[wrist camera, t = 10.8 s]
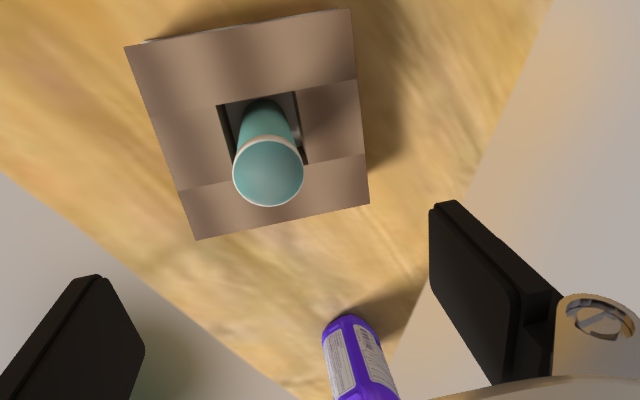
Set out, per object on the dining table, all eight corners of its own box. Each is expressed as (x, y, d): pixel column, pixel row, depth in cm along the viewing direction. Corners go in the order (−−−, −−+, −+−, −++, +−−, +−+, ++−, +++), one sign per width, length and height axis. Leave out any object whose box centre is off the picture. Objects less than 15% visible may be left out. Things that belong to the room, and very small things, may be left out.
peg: (282, 94, 28) (297, 133, 18) (291, 138, 30) (309, 198, 19) (236, 102, 28) (223, 147, 17) (247, 147, 30) (242, 213, 19)
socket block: (336, 7, 27) (352, 3, 22) (357, 181, 33) (372, 205, 29) (142, 41, 26) (118, 44, 21) (203, 213, 32) (193, 243, 28)
